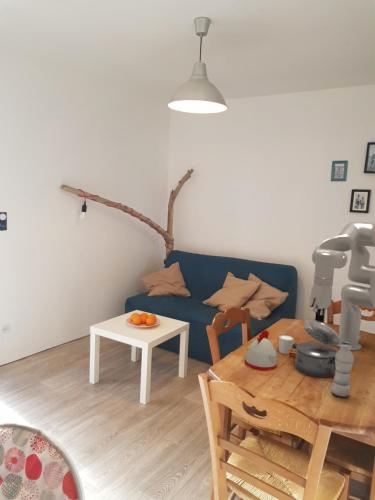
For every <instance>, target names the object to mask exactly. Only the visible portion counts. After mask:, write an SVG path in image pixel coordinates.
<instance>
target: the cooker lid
mask: <svg viewBox="0 0 375 500" xmlns="http://www.w3.org/2000/svg"><path fill="white" fill-rule="evenodd" d="M302 326H303V329H304V331H305V332H306V333H307V334H308V335H310V336H311V338H313V339H314V340H316V341H318V343H320V344H324V345H327V346H329V347H332V346H333V347H338V346H337V345H339V343H340V341H341V338H340V336H339V332H337V331H336V330H335V329H333V328H332V327H331V326H330V325H328V324H327V323H323V322H320V321H318V320H315V318H314V319H313V318H307V319H305V320H304V322H303V324H302Z"/></svg>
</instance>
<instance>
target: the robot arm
mask: <svg viewBox="0 0 375 500" xmlns="http://www.w3.org/2000/svg"><path fill="white" fill-rule="evenodd" d="M367 247H371V248H375V223H373V222H363V221H362V222H361V221H351V222H348V223H347V224H346V225H345V226H344V227H343V229H342V230H341V231H340V233H338V235H336V236H333V237H331V238H328V239H324V240H322V241H321V242H320V243H319V244H318V245H317V246H316V247H315V249H314V250H313V252H312V254H311V260H312V263H313V265H314V274H313V284H312V288H311V291H310V299H309V307H310V308H312V312H314V314H315V317H314V320H318V321H320V322H323V323H324V322H325V315H326V311H327V310H328V309H329V307H331V305H332V300H333V299H332V298H333V284H334V276H335V275H334V274H335V269H343V268H344V267H345V266H346V265H347V263H348V255H347V254H346V252H349V251H351V256H350V262H349V266H348V272H347V278H348V280H349V281H351V282H353V283H357V284H362V285H369V287H368V286H362V285H356V284H345V285H343V286H342V287H341V291H340V298H341V299H340V301H341V308H340V316H339V317H340V318H339V320H340V321H339V327H338V328H339V329H338V335H339V336H340V338H341V341H340V343H341V342H347V343H350V344H351V350H350V351H359V350H361V349H362V345H361V344H360V343H359V340H361V339H362V337H361V336H360V330H361V322H362V310H361V308H360V306H361V307H366V308H370V309H374V308H375V265H370V259H371V254H370V251H369V250H368V249H367ZM340 343H339V345H337V346H336V347H337V348H340Z"/></svg>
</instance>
